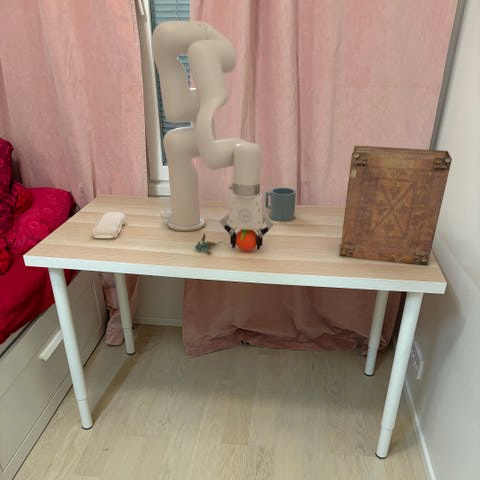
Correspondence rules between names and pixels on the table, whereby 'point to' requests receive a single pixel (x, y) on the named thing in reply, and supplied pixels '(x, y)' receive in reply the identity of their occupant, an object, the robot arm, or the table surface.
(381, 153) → the book
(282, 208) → the blue mug
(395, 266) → the table surface
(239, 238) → the clementine
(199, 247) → the dragon figurine
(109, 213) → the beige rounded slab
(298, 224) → the table surface
